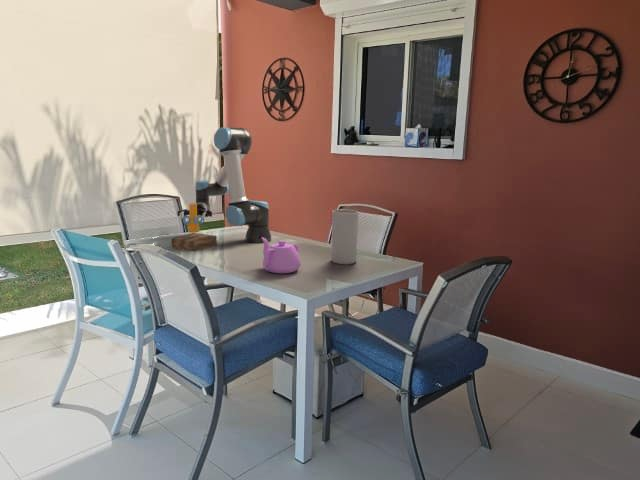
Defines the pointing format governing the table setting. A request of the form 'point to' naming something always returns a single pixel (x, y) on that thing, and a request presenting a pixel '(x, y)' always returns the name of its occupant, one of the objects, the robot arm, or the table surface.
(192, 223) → the orange blue tall piece
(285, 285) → the table surface
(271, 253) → the teapot
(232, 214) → the robot arm
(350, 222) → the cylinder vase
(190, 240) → the walnut block
